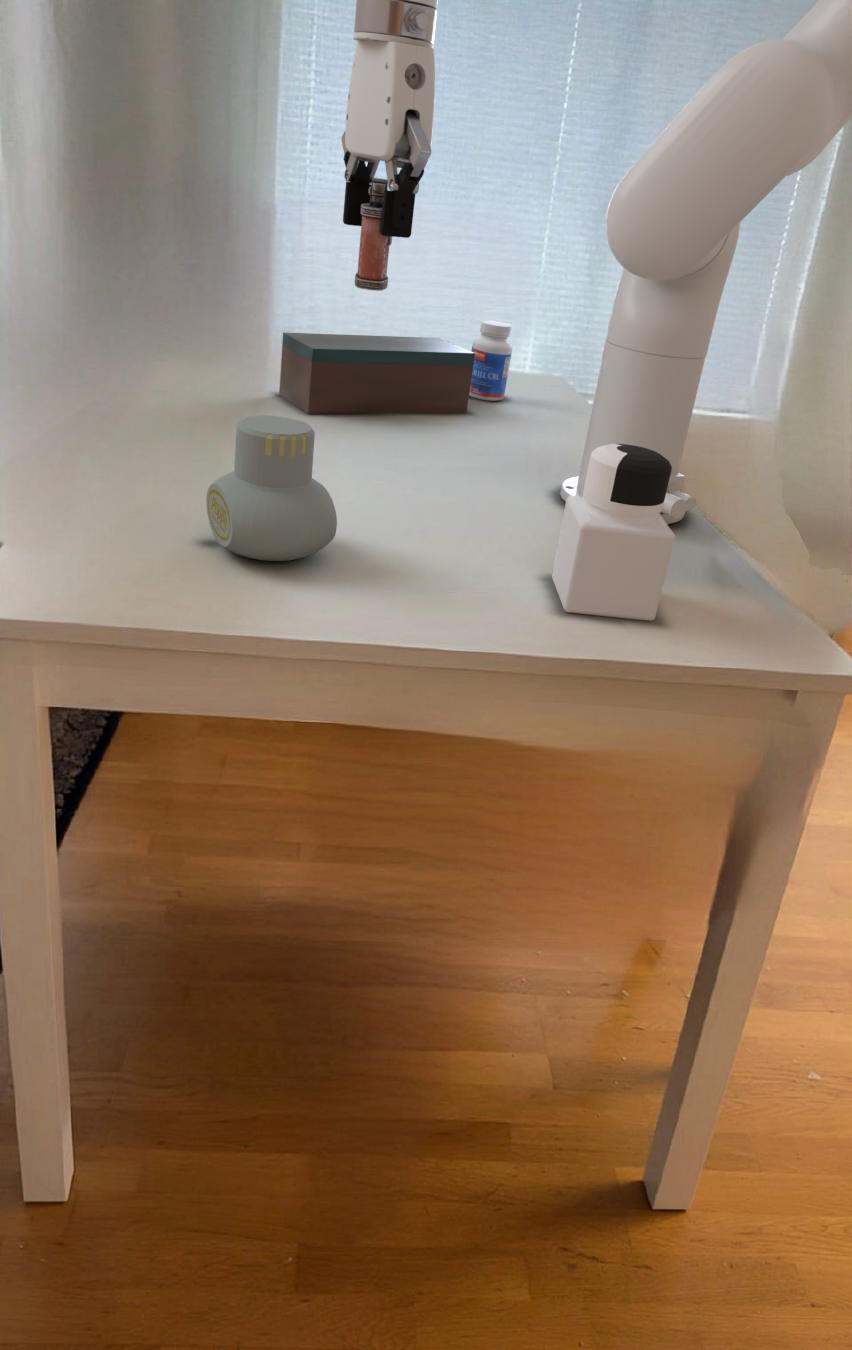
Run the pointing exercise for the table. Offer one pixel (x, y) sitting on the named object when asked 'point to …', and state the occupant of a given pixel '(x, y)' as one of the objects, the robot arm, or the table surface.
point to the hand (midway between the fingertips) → (375, 229)
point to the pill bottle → (491, 361)
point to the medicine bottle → (616, 536)
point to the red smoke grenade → (373, 242)
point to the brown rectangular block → (374, 374)
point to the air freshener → (272, 494)
